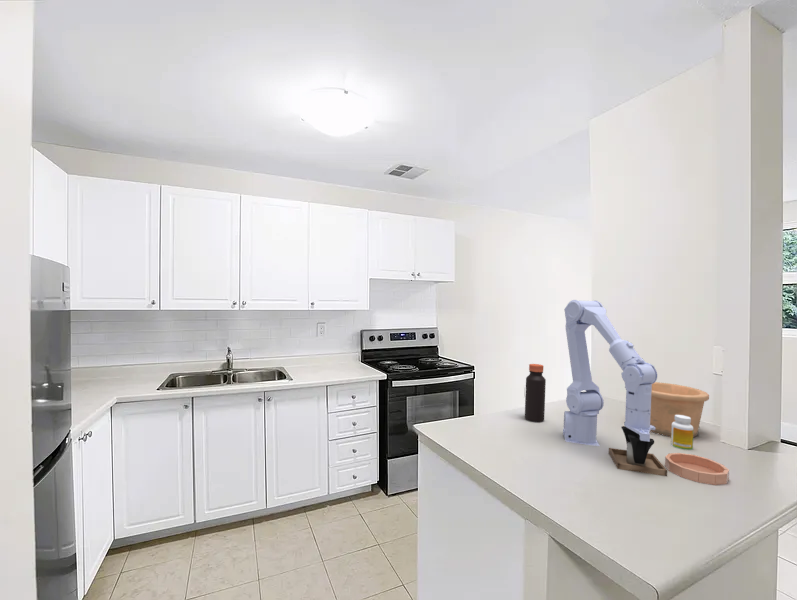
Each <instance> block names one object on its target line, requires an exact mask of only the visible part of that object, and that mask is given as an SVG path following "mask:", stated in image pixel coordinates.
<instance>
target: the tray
mask: <svg viewBox="0 0 797 600" xmlns="http://www.w3.org/2000/svg"><path fill="white" fill-rule="evenodd" d="M608 454H609V456H610V458H611V460H612V461H613V463H614V465H615V467H616V468H617V470H622V471H623V470H624V471H629V472H637V473H640V474H641V473H643V474H650V475H656V476H662V477H668V469H667V468H665V467H666V466H665V465H663V464H662V462H661V461H660V460H659V459H658V458H657V456H656V455H655V454H654V453H650V452H648V454H647V457H646V466H645V467H644V466H638V465H631V464H628V463H627V462H626V458H627V449H620V448H613V447H608Z"/></svg>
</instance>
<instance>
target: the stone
mask: <svg viewBox="0 0 797 600" xmlns="http://www.w3.org/2000/svg"><path fill="white" fill-rule="evenodd" d="M626 450H627V458H626V462H627V463H628V464H631V465H638V466H644V467H645V466H646V460H645V463H644V464H638V463H635V462H634V458H633V450H632V445H631V442H628V443H626Z"/></svg>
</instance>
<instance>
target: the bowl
mask: <svg viewBox="0 0 797 600" xmlns="http://www.w3.org/2000/svg"><path fill="white" fill-rule="evenodd" d="M664 458H665V459H664V460H665V461H664V467H666V468H665V469H666V470H667V471H668V472H670V473H672V474H675V475H677V476H679V477H681V478H683V479H686V480H689V481H692V482H697V483H699V484H700V483H701V484H708V485H713V486H718V485H719V486H720V485H727V484H728V482H729V480H730V469H729V468H728V467H726V466H725V465H724V464H722V463H720V462H718V461H715V460H713V459H710V458H707V457H702V456H700V455H695V454H692V453H691V454H690V453H683V452H672V453H668V454H666V455H665V457H664Z"/></svg>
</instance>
